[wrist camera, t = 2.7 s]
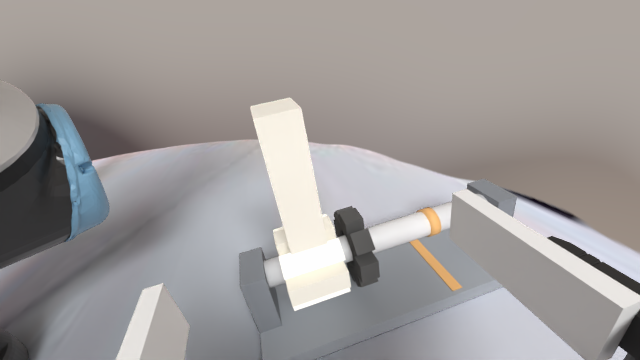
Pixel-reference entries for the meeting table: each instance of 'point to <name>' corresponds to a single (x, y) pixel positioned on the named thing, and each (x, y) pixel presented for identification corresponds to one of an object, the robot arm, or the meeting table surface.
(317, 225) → the sleeve
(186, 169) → the meeting table surface
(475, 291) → the pipe stand
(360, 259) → the ring
